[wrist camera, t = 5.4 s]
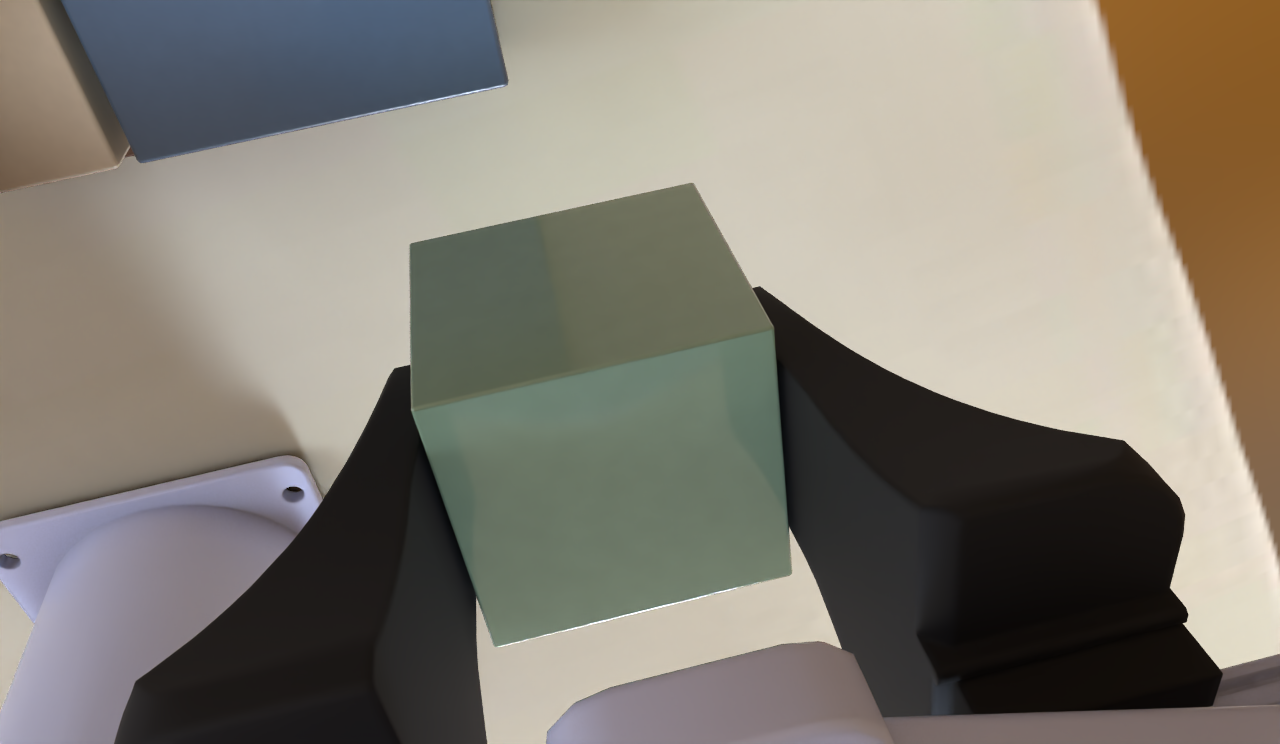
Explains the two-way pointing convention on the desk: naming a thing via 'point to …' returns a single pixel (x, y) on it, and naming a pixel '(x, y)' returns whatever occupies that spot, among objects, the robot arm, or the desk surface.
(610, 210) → the green cube block
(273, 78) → the bed
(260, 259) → the desk surface
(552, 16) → the desk surface
